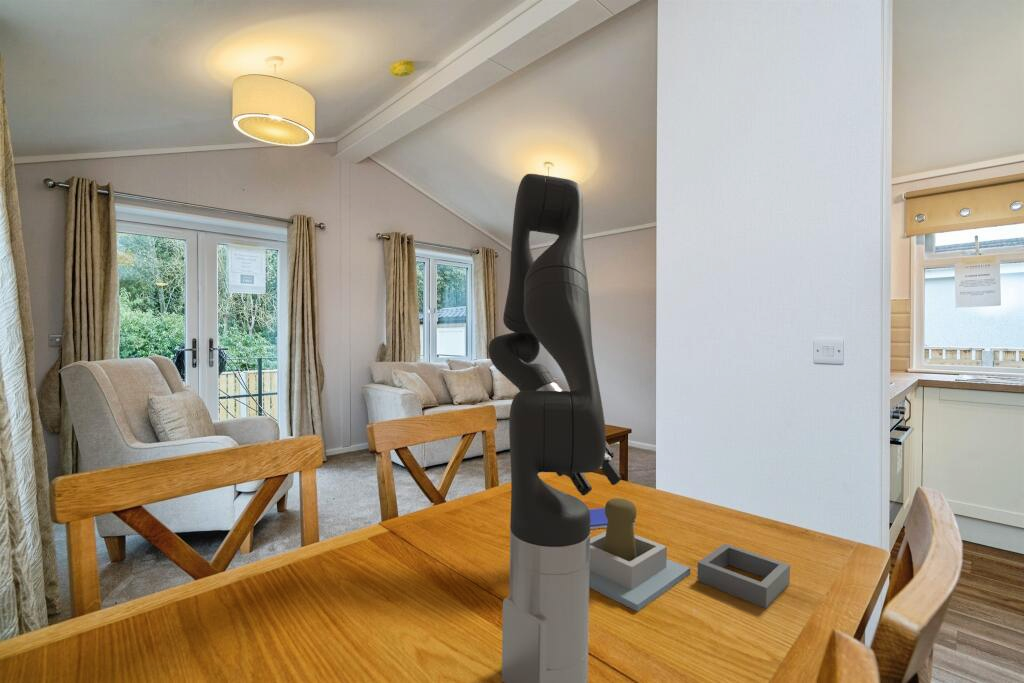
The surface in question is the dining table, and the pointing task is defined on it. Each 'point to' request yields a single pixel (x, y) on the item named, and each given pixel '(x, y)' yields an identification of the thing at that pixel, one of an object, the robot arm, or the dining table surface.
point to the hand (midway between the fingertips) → (603, 487)
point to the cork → (620, 528)
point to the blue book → (599, 518)
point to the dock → (633, 572)
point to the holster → (741, 585)
